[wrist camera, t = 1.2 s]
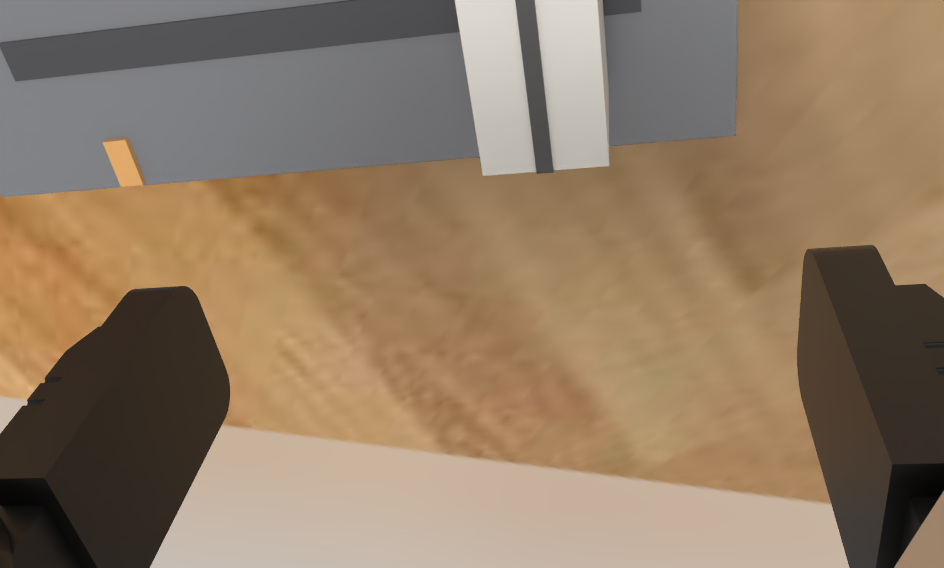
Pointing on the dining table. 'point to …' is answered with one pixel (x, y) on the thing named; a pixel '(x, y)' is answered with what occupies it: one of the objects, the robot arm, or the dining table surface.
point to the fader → (537, 83)
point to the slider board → (305, 86)
